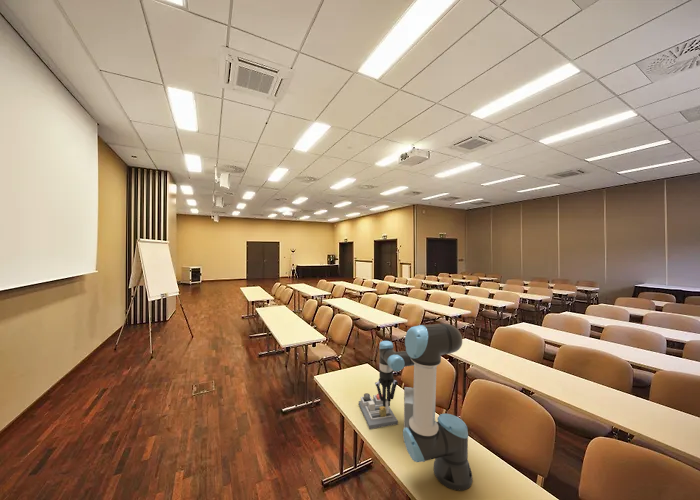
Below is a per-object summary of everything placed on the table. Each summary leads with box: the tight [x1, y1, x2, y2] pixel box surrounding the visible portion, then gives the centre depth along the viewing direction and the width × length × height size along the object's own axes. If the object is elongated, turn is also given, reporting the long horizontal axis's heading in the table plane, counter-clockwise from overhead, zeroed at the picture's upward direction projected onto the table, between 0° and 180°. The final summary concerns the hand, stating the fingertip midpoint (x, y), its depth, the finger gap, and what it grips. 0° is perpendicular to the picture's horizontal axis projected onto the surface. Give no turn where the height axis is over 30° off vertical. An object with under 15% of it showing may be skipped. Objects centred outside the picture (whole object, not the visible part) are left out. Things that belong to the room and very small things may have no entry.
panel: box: [358, 394, 399, 430], centre depth 151 cm, size 22×16×5 cm
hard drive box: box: [403, 386, 414, 444], centre depth 135 cm, size 16×8×20 cm, turn 168°
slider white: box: [368, 401, 375, 412], centre depth 151 cm, size 3×3×4 cm
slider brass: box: [379, 406, 386, 417], centre depth 146 cm, size 3×3×4 cm
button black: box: [363, 393, 371, 402], centre depth 156 cm, size 4×4×3 cm
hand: (386, 411), depth 147 cm, fingers closed
